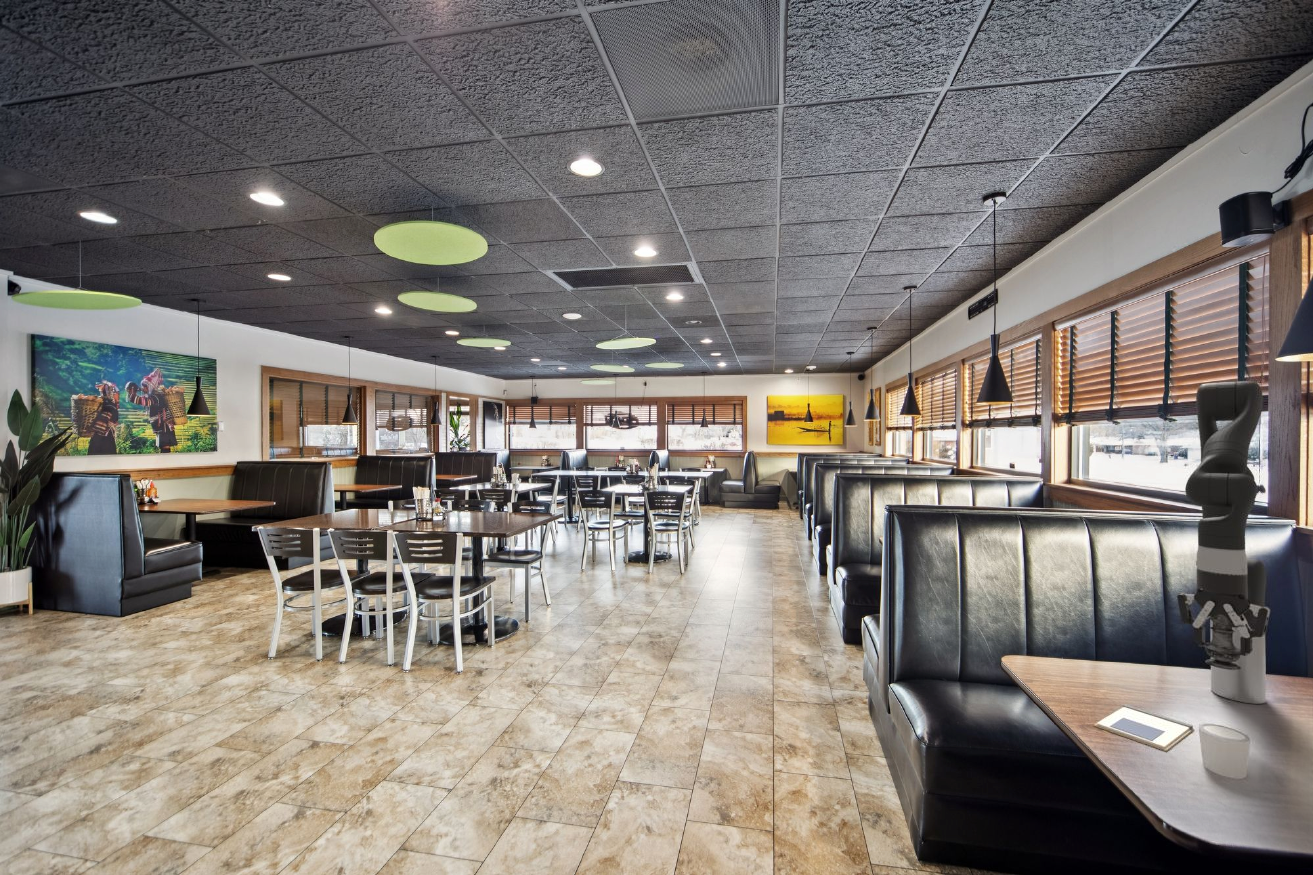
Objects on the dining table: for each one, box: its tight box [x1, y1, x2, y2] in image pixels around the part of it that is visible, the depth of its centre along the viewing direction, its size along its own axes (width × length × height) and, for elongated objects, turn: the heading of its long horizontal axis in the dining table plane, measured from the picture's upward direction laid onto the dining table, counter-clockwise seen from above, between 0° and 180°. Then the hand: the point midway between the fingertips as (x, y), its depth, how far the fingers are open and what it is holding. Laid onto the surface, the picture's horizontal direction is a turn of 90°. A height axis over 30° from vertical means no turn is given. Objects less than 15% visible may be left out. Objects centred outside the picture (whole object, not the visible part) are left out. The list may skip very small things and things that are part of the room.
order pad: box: [1093, 703, 1195, 752], centre depth 121 cm, size 16×12×1 cm
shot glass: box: [1197, 723, 1251, 780], centre depth 106 cm, size 7×7×7 cm
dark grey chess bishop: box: [1203, 614, 1241, 670], centre depth 119 cm, size 6×6×12 cm
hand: (1222, 649), depth 119 cm, fingers closed on dark grey chess bishop, 6 cm apart
